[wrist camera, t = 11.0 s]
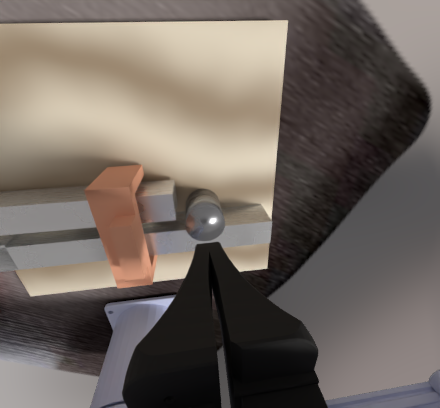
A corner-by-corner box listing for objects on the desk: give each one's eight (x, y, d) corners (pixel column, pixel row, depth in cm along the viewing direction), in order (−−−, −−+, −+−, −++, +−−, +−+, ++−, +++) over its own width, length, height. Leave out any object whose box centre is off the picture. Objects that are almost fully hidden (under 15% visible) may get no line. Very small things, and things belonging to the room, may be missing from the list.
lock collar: (158, 248, 20) (149, 298, 15) (130, 251, 20) (112, 302, 15) (141, 164, 16) (123, 196, 12) (107, 166, 16) (74, 200, 11)
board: (264, 261, 24) (267, 268, 23) (37, 287, 22) (30, 296, 21) (281, 24, 15) (288, 20, 14) (-113, 29, 12) (-137, 25, 12)
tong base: (260, 223, 20) (271, 245, 17) (8, 248, 18) (-25, 278, 16) (262, 183, 18) (275, 201, 16) (-17, 206, 16) (-59, 231, 14)
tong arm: (177, 204, 18) (176, 221, 16) (-15, 220, 17) (-47, 241, 14) (174, 179, 17) (172, 194, 15) (-31, 193, 16) (-68, 212, 13)
